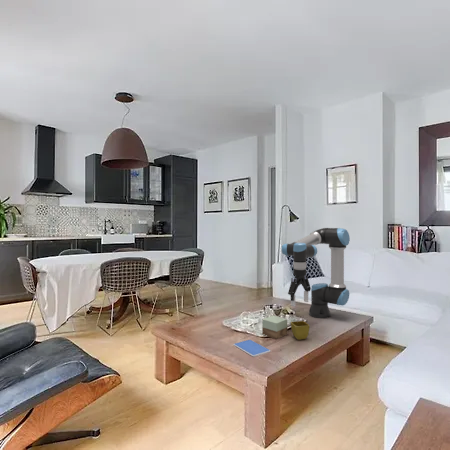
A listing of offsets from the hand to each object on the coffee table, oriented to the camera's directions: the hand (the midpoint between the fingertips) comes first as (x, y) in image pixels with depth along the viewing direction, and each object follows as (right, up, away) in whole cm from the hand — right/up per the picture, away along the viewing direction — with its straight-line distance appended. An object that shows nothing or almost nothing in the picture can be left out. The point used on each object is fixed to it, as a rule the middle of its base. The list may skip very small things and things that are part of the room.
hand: (299, 303), depth 195 cm
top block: (-14, -16, +7) cm, 23 cm away
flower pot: (0, -21, +1) cm, 21 cm away
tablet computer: (-30, -23, -13) cm, 40 cm away
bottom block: (-14, -21, +7) cm, 26 cm away
